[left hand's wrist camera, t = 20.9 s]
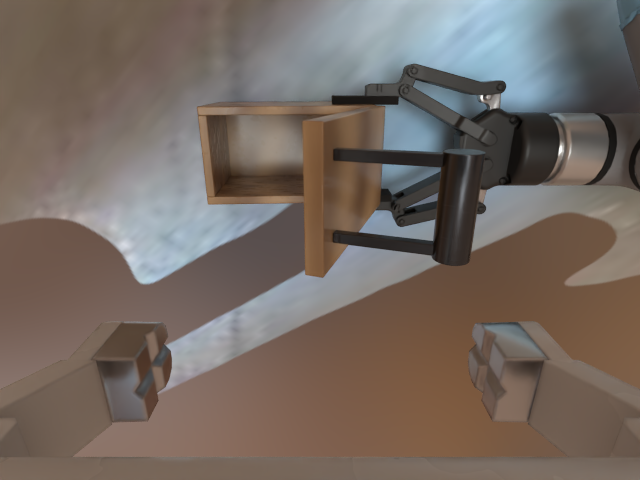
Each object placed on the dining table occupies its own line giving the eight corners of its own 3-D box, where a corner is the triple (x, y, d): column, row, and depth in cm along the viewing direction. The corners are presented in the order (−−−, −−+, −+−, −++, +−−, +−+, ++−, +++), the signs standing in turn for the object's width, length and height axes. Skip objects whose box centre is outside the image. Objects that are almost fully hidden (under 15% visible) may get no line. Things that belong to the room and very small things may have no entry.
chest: (226, 180, 49) (207, 204, 39) (219, 102, 46) (196, 106, 36) (358, 179, 50) (373, 201, 40) (361, 101, 46) (377, 105, 36)
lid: (304, 275, 25) (465, 301, 22) (301, 120, 21) (492, 125, 18) (368, 203, 39) (468, 212, 36) (372, 105, 36) (483, 107, 33)
